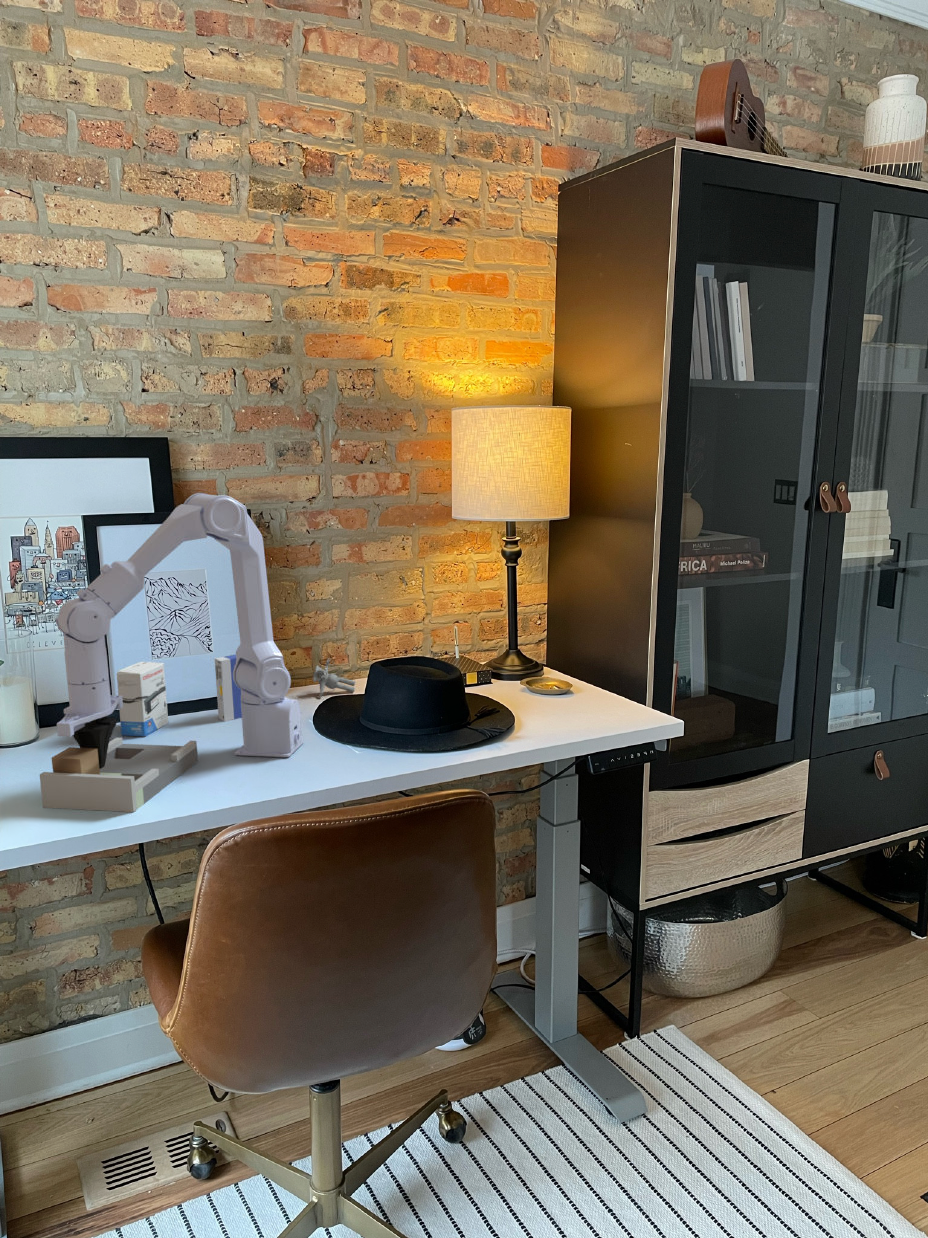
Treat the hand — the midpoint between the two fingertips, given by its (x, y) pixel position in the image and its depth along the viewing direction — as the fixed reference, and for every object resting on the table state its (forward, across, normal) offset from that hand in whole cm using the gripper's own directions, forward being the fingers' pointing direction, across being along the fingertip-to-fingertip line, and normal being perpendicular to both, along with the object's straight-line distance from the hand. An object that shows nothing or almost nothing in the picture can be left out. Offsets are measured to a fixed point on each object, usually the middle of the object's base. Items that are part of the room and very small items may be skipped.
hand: (96, 767), depth 139 cm
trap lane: (+3, -3, +3) cm, 6 cm away
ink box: (+4, -28, -7) cm, 29 cm away
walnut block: (+1, +4, -1) cm, 4 cm away
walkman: (+4, -38, +7) cm, 39 cm away
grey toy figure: (+4, -56, +20) cm, 59 cm away
